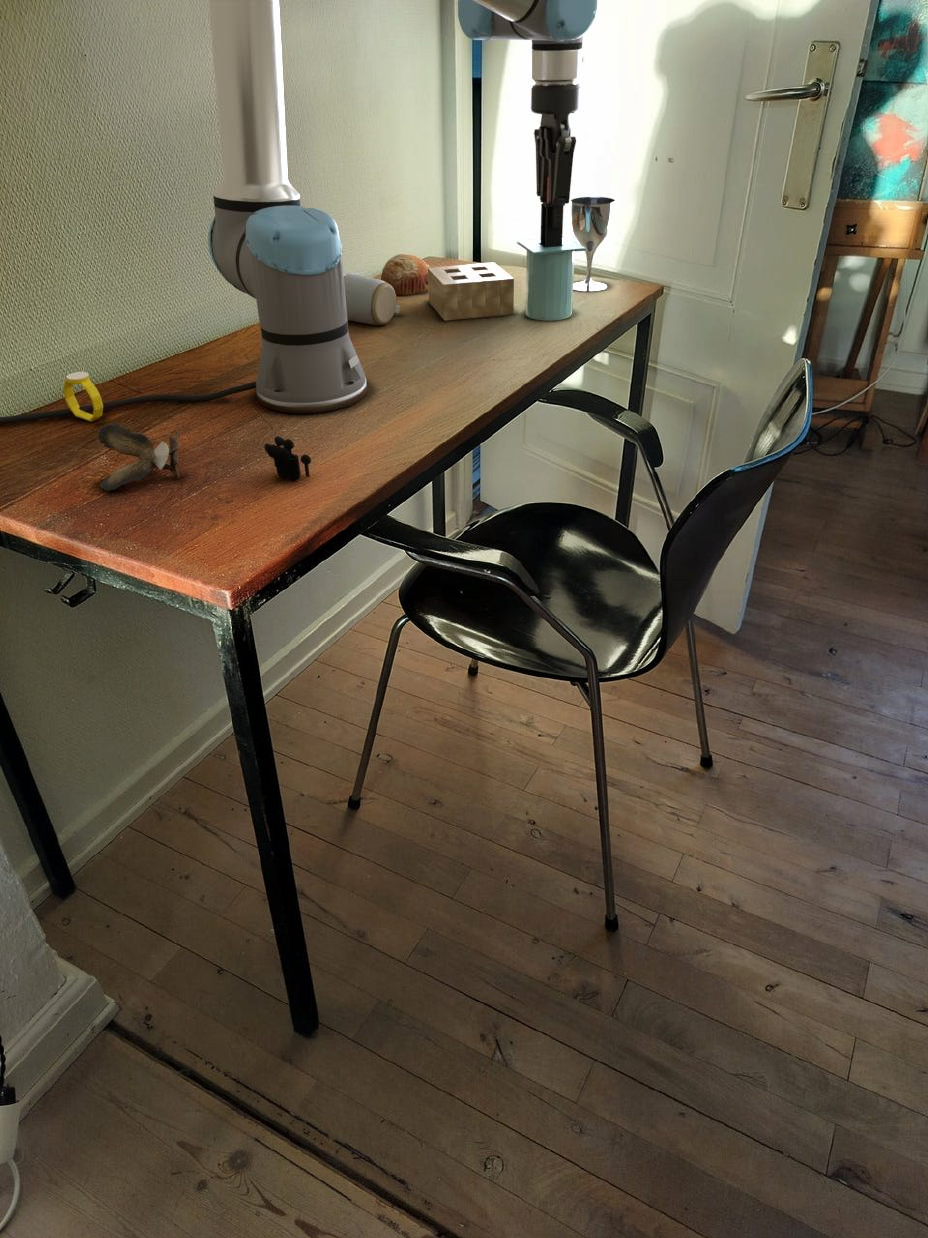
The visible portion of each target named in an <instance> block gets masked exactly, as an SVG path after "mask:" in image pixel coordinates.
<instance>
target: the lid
mask: <svg viewBox="0 0 928 1238" xmlns="http://www.w3.org/2000/svg"><path fill="white" fill-rule="evenodd" d="M540 240H541V238H539V239H526V240H525V239H524V240H517V241H516V244H517V245H519V246H520V247H522V248H523V249H524V250H526V252H527V251H529V252H530V253H532V254H533V255H539V254H551V253H563V252H575V253H576V252H585V251H586V248H585V247H583V246H581V244H580V243H579V242H577V241H574V240H573V239H572V238H569V237H568V236H565V237H563V236H562V246H557V247H545V248H544V247H543V246H541V245H540Z"/></svg>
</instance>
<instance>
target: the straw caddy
mask: <svg viewBox="0 0 928 1238" xmlns="http://www.w3.org/2000/svg"><path fill="white" fill-rule="evenodd" d="M427 292H428V302H429V304H430V305H431V306H432V308H433V309H434V310H435V311H436V312H437V314H438V315H439V316H440V317H441V319H442V320H443V321H457V320H467V319H476V318H477V319H478V318H486V317H487V318H488V317H489V318H490V317H499V316H507V315H509V316H510V315H514V311H515V310H514V308H515V307H514V306H515V305H514V304H515V302H514V301H515V299H514V298H515V278H514V277H513V276H511V275H510V274H509V273H508V272H506V270H504V269H503V268H502V267H500V266H499V265H498V263H496V262H481V263H470V264H469V263H468V264H458V265H457V264H456V265H447V266H445V265H443V266H434V267H430V268H428V291H427Z"/></svg>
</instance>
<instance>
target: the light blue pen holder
mask: <svg viewBox="0 0 928 1238" xmlns="http://www.w3.org/2000/svg"><path fill="white" fill-rule="evenodd" d="M543 247H544V248H545V246H543ZM575 256H576V251H575V252H563V253H551V254H539V255H533V254H532V253H530V252H529V251H527V250H526V267H525V269H526V271H525V316H526V317H527V318H529V319H532V320H536V321H547V322H548V321H550V322H551V321H552V322H553V321H561V320H565V319H568V318H570V317H571V316H572V314H573V300H574V299H573V297H574V290H573V283H574V279H575Z"/></svg>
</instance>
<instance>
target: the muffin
mask: <svg viewBox="0 0 928 1238" xmlns="http://www.w3.org/2000/svg"><path fill="white" fill-rule="evenodd" d="M428 268H431V267H430V265H429V264H428V263H427V262H425V260H424V259H422V258H420V257H417V256H416V255H414V254H409V253H397V254H396V255H394V256H392V257H391V258H389V259H388V260H387V261H386V263H385V264H384V266H383V267H382V270H381V275H380V280H382V281H384V282H386V283H388V284H390V285H391V286H392V287H393V289H394V291H395V294H396V296H407V295H417V294H422V293H425V292H429V291H428Z"/></svg>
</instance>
